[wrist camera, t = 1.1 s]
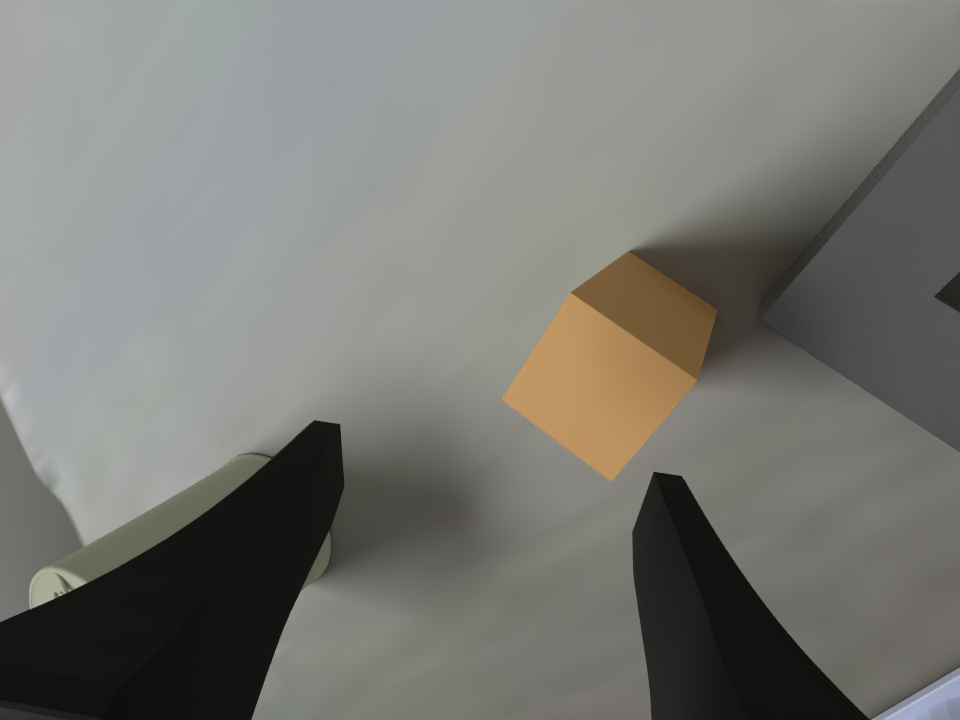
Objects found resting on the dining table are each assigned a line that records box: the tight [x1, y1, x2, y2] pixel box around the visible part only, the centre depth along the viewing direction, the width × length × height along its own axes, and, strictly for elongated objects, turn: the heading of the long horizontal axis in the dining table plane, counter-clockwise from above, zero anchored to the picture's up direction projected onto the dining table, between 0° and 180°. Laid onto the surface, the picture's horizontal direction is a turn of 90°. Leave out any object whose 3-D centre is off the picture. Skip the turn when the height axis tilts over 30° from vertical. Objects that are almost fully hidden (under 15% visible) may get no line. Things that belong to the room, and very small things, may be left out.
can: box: [29, 454, 331, 609], centre depth 32 cm, size 9×9×12 cm
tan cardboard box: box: [501, 251, 718, 481], centre depth 20 cm, size 4×4×8 cm
